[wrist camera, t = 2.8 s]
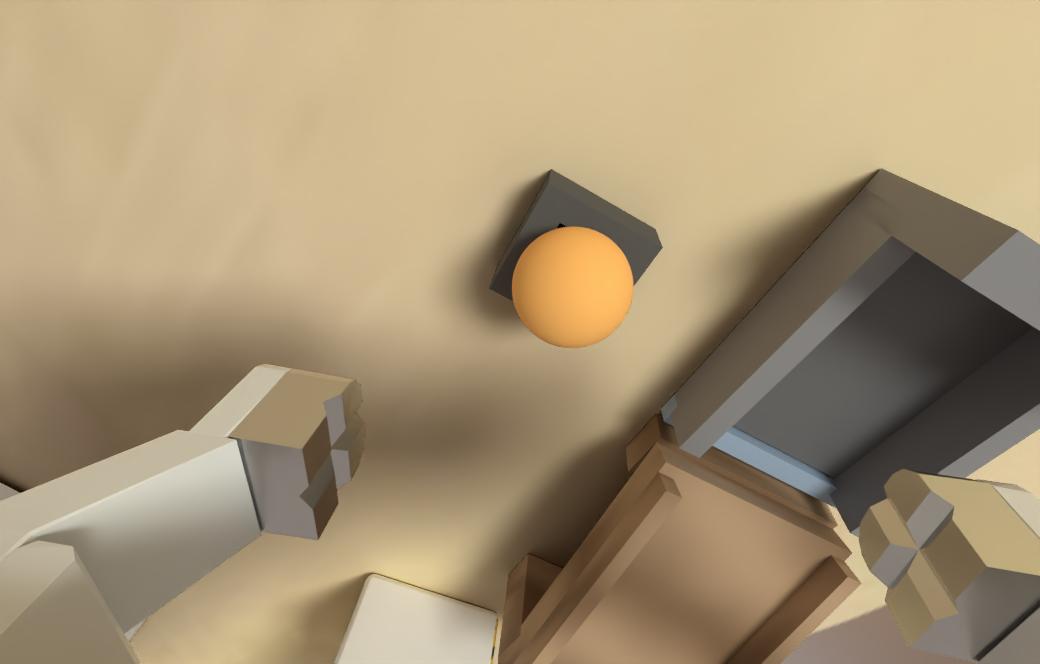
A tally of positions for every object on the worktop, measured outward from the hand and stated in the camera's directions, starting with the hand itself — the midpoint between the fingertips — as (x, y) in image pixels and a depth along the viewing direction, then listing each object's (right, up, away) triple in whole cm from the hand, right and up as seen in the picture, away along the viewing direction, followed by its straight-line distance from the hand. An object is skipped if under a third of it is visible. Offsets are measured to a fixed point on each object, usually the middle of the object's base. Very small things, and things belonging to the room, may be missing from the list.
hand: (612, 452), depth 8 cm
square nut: (0, +4, +8) cm, 9 cm away
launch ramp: (+4, -7, +14) cm, 17 cm away
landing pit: (+9, +1, +9) cm, 13 cm away
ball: (0, +3, +6) cm, 6 cm away
